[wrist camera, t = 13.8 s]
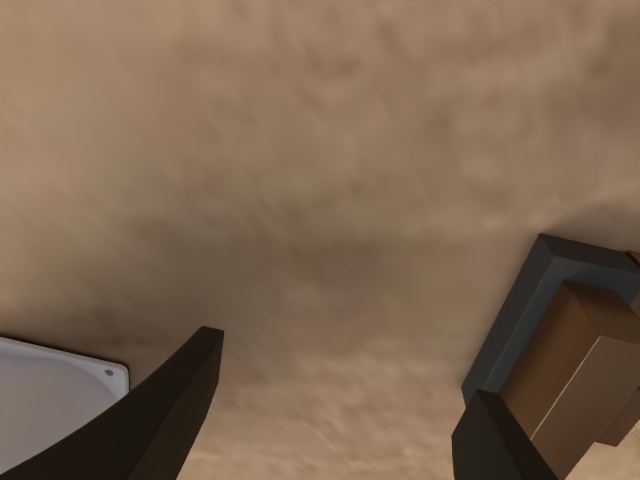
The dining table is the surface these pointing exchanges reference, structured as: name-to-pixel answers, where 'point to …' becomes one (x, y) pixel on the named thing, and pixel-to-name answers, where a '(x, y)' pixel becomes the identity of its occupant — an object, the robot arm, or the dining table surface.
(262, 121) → the dining table surface
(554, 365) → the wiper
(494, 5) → the dining table surface
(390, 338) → the dining table surface
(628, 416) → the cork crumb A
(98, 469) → the robot arm
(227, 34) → the dining table surface
